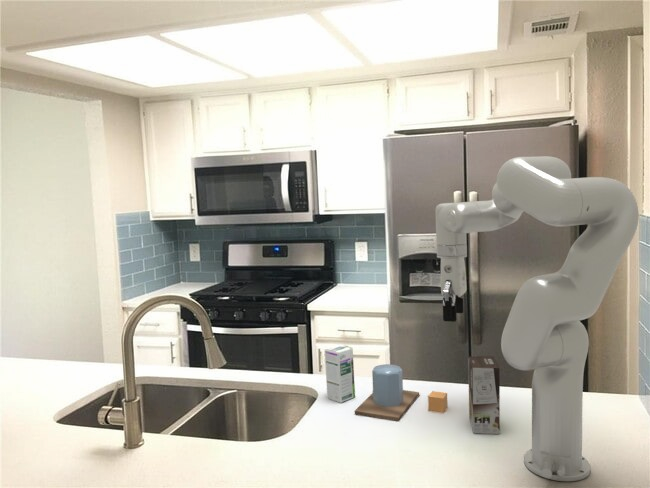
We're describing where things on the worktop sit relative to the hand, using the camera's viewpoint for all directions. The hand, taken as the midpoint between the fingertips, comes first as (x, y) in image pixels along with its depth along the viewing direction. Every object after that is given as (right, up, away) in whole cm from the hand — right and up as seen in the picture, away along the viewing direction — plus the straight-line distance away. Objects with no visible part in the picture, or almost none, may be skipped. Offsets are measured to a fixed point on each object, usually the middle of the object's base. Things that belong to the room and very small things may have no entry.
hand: (453, 316), depth 142 cm
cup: (-16, -24, +6) cm, 29 cm away
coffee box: (+5, -26, -9) cm, 27 cm away
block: (-4, -25, +2) cm, 25 cm away
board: (-16, -25, +6) cm, 30 cm away
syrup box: (-29, -25, +12) cm, 40 cm away
